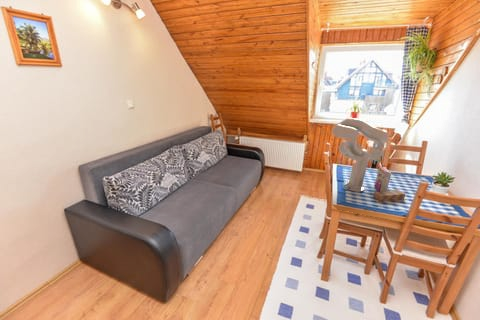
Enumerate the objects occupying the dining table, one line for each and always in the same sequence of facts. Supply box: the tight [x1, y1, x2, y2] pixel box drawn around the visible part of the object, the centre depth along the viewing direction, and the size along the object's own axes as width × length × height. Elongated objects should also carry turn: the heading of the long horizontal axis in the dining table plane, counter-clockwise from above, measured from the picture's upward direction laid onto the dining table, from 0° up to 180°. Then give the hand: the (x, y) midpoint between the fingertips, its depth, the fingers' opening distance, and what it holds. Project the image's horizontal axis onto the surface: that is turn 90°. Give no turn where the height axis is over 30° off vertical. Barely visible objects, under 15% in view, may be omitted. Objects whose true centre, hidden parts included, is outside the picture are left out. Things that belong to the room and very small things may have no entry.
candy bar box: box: [374, 166, 392, 192], centre depth 168 cm, size 11×5×16 cm, turn 168°
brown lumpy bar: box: [373, 189, 407, 203], centre depth 156 cm, size 20×6×5 cm, turn 101°
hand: (373, 167), depth 177 cm, fingers closed
